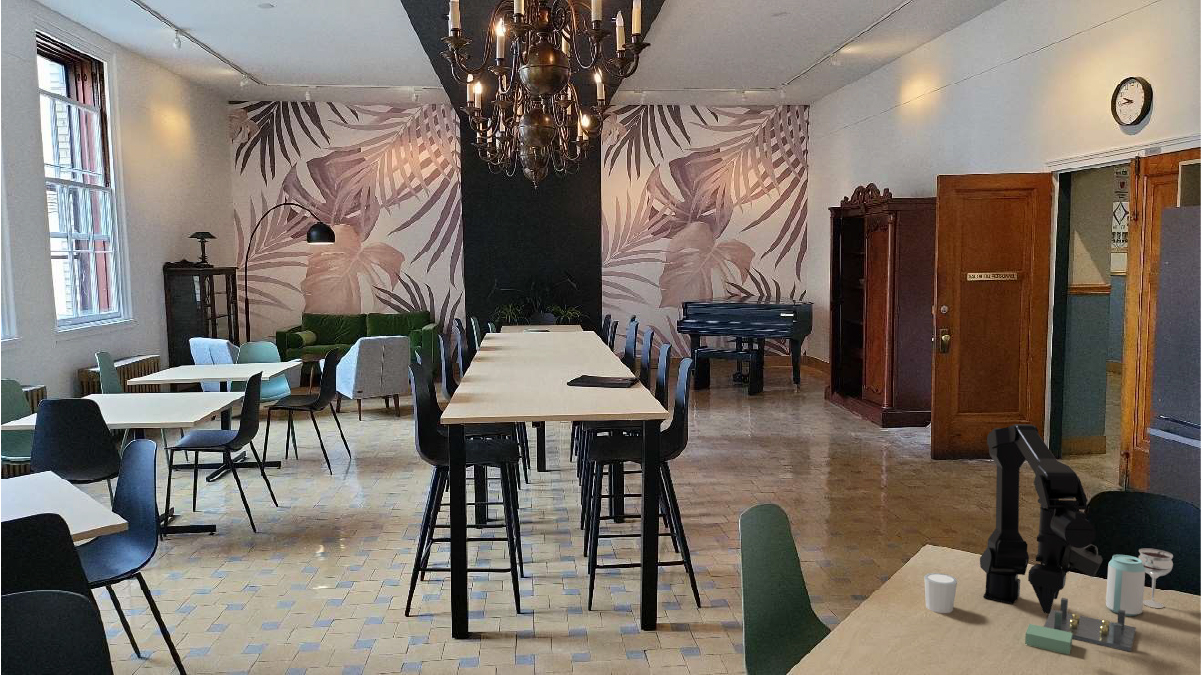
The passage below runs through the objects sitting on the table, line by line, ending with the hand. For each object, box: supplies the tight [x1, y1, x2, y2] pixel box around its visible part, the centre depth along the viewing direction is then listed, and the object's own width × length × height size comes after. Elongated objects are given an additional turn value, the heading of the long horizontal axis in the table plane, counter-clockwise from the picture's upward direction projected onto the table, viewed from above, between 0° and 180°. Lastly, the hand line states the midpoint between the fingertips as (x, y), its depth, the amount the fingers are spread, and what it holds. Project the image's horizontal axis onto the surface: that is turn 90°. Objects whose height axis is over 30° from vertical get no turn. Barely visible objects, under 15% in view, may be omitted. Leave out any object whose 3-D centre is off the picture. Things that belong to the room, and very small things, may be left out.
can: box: [1105, 554, 1146, 617], centre depth 196 cm, size 7×7×12 cm
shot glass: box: [923, 572, 958, 614], centre depth 197 cm, size 7×7×7 cm
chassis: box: [1043, 597, 1137, 652], centre depth 185 cm, size 16×12×4 cm
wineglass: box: [1137, 548, 1174, 608], centre depth 199 cm, size 7×7×12 cm
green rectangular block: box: [1024, 623, 1073, 655], centre depth 179 cm, size 8×6×3 cm
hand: (1050, 605), depth 178 cm, fingers open, 9 cm apart
